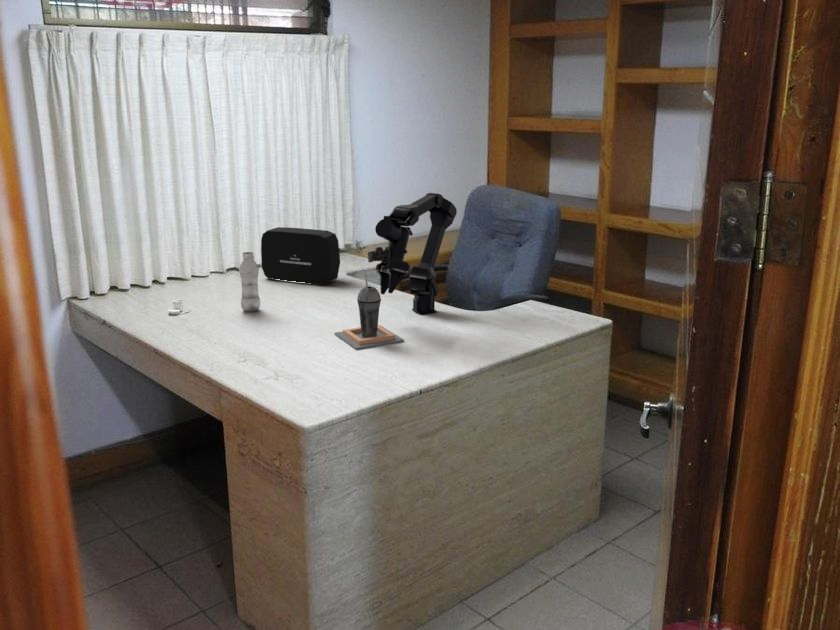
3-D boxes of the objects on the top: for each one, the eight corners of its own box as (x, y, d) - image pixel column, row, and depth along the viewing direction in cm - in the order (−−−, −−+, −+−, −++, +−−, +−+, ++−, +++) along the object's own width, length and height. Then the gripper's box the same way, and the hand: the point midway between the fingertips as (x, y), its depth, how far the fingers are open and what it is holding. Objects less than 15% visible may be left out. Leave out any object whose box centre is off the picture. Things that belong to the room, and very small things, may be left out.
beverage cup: (385, 336, 237) (385, 273, 231) (366, 341, 233) (365, 276, 227) (372, 330, 242) (371, 268, 237) (352, 335, 238) (351, 271, 232)
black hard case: (261, 279, 305) (259, 229, 299) (277, 272, 316) (275, 224, 310) (330, 287, 295) (329, 235, 289) (344, 280, 306) (343, 229, 300)
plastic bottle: (237, 312, 263) (233, 254, 257) (248, 307, 269) (245, 250, 263) (253, 314, 260) (250, 256, 254) (264, 309, 266) (261, 252, 260)
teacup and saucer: (175, 317, 258) (173, 305, 256) (159, 313, 262) (158, 301, 261) (195, 311, 265) (194, 299, 263) (180, 307, 269) (179, 296, 268)
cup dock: (380, 327, 248) (380, 321, 247) (404, 341, 235) (404, 336, 234) (334, 334, 240) (334, 329, 240) (355, 349, 227) (355, 344, 227)
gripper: (366, 241, 250) (354, 288, 249) (381, 235, 233) (368, 286, 231) (398, 250, 254) (387, 296, 252) (415, 245, 236) (403, 295, 235)
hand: (386, 293), depth 243 cm, fingers open, 9 cm apart
